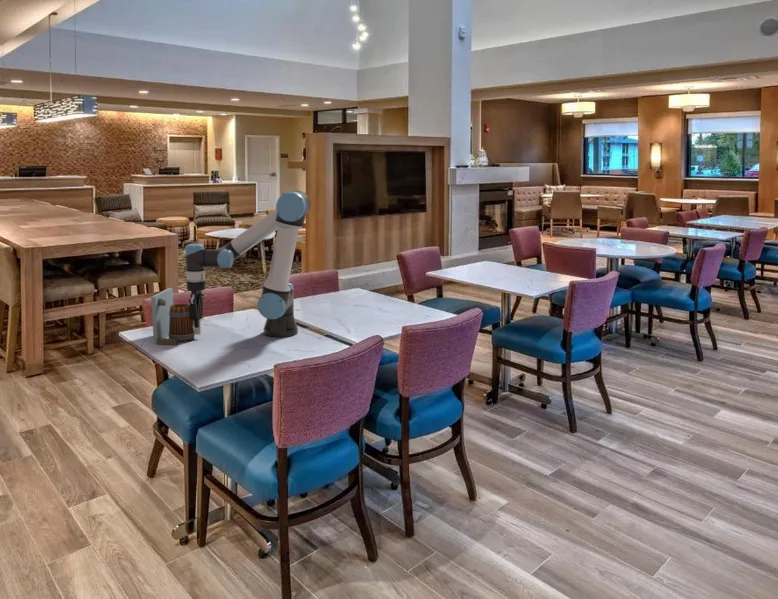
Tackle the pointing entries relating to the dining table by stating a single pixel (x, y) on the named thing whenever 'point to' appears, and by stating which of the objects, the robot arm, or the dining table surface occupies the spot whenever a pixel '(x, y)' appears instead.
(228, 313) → the dining table surface
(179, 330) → the mug
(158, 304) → the door
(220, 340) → the dining table surface
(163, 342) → the tan support feet
